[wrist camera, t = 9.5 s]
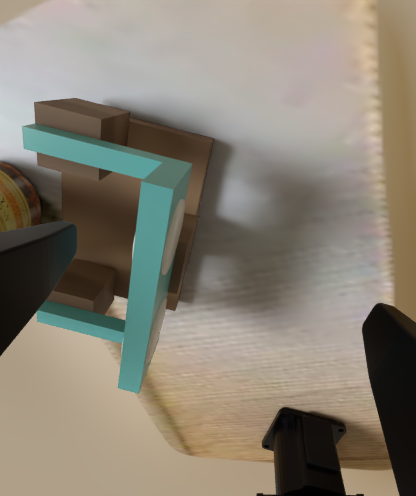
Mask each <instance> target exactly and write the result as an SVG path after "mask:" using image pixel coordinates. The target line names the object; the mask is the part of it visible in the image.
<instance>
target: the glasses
mask: <svg viewBox="0 0 416 496" xmlns="http://www.w3.org/2000/svg"><path fill="white" fill-rule="evenodd" d="M22 131H23V144H24V149H27V150H31V151H35V152H39V153H42V154H46V155H50V156H54V157H58V158H62V159H66V160H70V161H74V162H78V163H82V164H85V165H89V166H93V167H97V168H101V169H105V170H109V171H113V172H117V173H121V174H125V175H128V176H132V177H136V178H140V179H144V180H142V181H141V190H140V199H139V207H138V216H137V225H136V233H135V237H134V243H133V252H132V269H131V278H130V286H129V295H128V304H127V313H126V321H125V320H121V319H118V318H114V317H110V316H106V315H102V314H98V313H94V312H91V311H87V310H83V309H79V308H75V307H71V306H67V305H64V304H60V303H56V302H52V301H48V300H46V301H45V302H44V303H43V304H42V306H41V307H40V308H39V309H38V311H37V321H38V322H41V323H45V324H49V325H52V326H56V327H60V328H64V329H68V330H72V331H76V332H79V333H83V334H87V335H91V336H95V337H99V338H102V339H106V340H110V341H114V342H118V343H122V350H121V353H122V357H121V365H120V374H119V383H118V388H120V389H123V390H127V391H131V392H135V393H139V392H140V389H141V387H142V384H143V381H144V378H145V376H146V373H147V370H148V367H149V365H150V362H151V359H152V356H153V354H154V351H155V348H156V345H157V343H158V340H159V334H160V330H161V326H162V323H163V319H164V314H165V310H166V304H167V293H168V288H169V283H170V278H171V272H172V267H173V262H174V257H175V252H176V248H177V244H178V240H179V236H180V232H181V228H182V223H183V218H184V211H185V200H186V195H187V190H188V184H189V179H190V174H191V169H192V163H188V162H184V161H180V160H176V159H173V158H169V157H165V156H161V155H157V154H153V153H149V152H145V151H141V150H137V149H133V148H129V147H126V146H122V145H118V144H114V143H110V142H106V141H102V140H98V139H94V138H90V137H86V136H82V135H79V134H75V133H71V132H67V131H63V130H59V129H55V128H51V127H47V126H43V125H39V124H31V125H26V126H22Z"/></svg>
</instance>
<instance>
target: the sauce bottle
mask: <svg viewBox="0 0 416 496" xmlns="http://www.w3.org/2000/svg"><path fill="white" fill-rule="evenodd" d="M40 222H41V204H40V198H39V197H38V196H37V192H36V190H35V189H34V188H33V186H32V185H31V183H30V182H29V181H28V180H27V179H26V178H25V177H24V176H23V175H22V174H21V173H19V172H18V170H17V169H15V168H14V167H12V166H10V165H8V164H6V163H2V162H0V232H4V231H9V230H14V229H19V228H25V227H30V226H35V225H39V224H40Z"/></svg>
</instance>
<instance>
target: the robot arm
mask: <svg viewBox="0 0 416 496" xmlns="http://www.w3.org/2000/svg"><path fill="white" fill-rule="evenodd" d="M76 251H77V227H76V225H75V224H73V223H70V222H66V221H56V222H51V223H46V224H41V225H35V226H30V227H25V228H19V229H14V230H9V231H4V232H0V356H1V355H2V353H3V352H4V351H5V350H6V349H7V347H8V346H9V345H10V344H11V342H12V341H13V340H14V339H15V338H16V336H17V335H18V334H19V333H20V331H21V330H22V329H23V328H24V326H25V325H26V324H27V323H28V322H29V320H30V319H31V318H32V317H33V315H34V314H35V313H36V312H37V311H38V309H39V308H40V307H41V306H42V304H43V303H44V302H45V301H46V299H47V298H48V297H49V295H50V294H51V293H52V291H53V290H54V288H55V287H56V285H57V283H58V282H59V280H60V279H61V277H62V275H63V274H64V272H65V271H66V269H67V268H68V266H69V264H70V263H71V261H72V260H73V258H74V256H75V254H76ZM362 334H363V341H364V348H365V354H366V361H367V368H368V374H369V379H370V384H371V388H372V392H373V396H374V399H375V403H376V407H377V411H378V415H379V419H380V422H381V426H382V430H383V434H384V438H385V442H386V445H387V449H388V453H389V457H390V461H391V465H392V468H393V472H394V476H395V480H396V484H397V488H398V491H399V495H400V496H416V323H415V322H414V321H413V320H411V319H410V318H409V317H407V316H406V315H405V314H403V313H402V312H401V311H399V310H398V309H396V308H395V307H394V306H391V305H387V304H383V303H378V304H376V305H375V306H374V307H373V309H372V311H371V312H370V314H369V315H368V317H367V318H366V320H365V322H364V323H363V327H362ZM345 432H346V427H345V425H344V424H343V423H339V422H335V421H331V420H328V419H324V418H320V417H316V416H312V415H308V414H305V413H301V412H297V411H293V410H289V409H285V408H283V409H280V410H279V412H278V413H277V415H276V417H275V419H274V421H273V422H272V424H271V426H270V428H269V430H268V431H267V433H266V435H265V437H264V439H263V440H262V447H263V448H264V449H267V450H271V451H274V465H275V466H274V467H275V484H276V495H263V493H257V496H364V494H356V495H346V492H345V488H344V484H343V479H342V475H341V471H340V470H341V467H340V463H339V458H338V454H337V449H336V444H337V443H338V441H339V440H340V439H341V437H342V436H343V435H344V434H345Z"/></svg>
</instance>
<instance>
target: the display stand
mask: <svg viewBox="0 0 416 496" xmlns="http://www.w3.org/2000/svg"><path fill="white" fill-rule="evenodd" d="M34 108H35V124H39V125H43V126H47V127H51V128H55V129H59V130H63V131H67V132H71V133H75V134H79V135H82V136H86V137H90V138H94V139H98V140H102V141H106V142H110V143H114V144H118V145H122V146H126V147H129V148H133V149H137V150H141V151H145V152H149V153H153V154H157V155H161V156H165V157H169V158H173V159H176V160H180V161H184V162H188V163H192V169H191V174H190V179H189V184H188V190H187V195H186V200H185V211H184V218H183V223H182V228H181V232H180V236H179V240H178V244H177V248H176V252H175V257H174V262H173V267H172V272H171V278H170V283H169V288H168V293H167V304H166V309H170V310H173V311H175V309H176V306H177V303H178V300H179V296H180V291H181V286H182V282H183V277H184V273H185V270H186V268H187V265H188V262H189V258H190V253H191V249H192V244H193V240H194V235H195V231H196V226H197V222H198V217H199V216H197V214H198V209H199V205H200V200H201V196H202V191H203V186H204V182H205V177H206V173H207V168H208V164H209V159H210V155H211V150H212V145H213V141H214V139H213V138H209V137H205V136H201V135H197V134H193V133H190V132H186V131H182V130H178V129H174V128H170V127H166V126H162V125H158V124H154V123H150V122H146V121H143V120H139V119H135V118H131V117H130V112H128V111H124V110H121V109H117V108H113V107H109V106H105V105H101V104H97V103H93V102H89V101H85V100H81V99H77V98H71V99H61V100H51V101H41V102H34ZM37 161H38V166H41V167H45V168H49V169H53V170H57V171H60V172H62V220H63V221H66V222H70V223H73V224H75V225H76V227H77V251H76V254H75V256H74V258H73V260H72V261H71V263H70V264H69V266H68V268H67V269H66V271H65V272H64V274H63V275H62V277H61V279H60V280H59V282H58V283H57V285H56V287H55V288H54V290H53V291H52V293H51V294H50V295H49V297H48V298H47V299H46V300H48V301H52V302H56V303H60V304H64V305H67V306H71V307H75V308H79V309H83V310H87V311H91V312H94V313H98V314H102V315H105V313H106V312H107V310H108V309H109V307H110V305H111V304H112V302H113V301H114V295H116V296H119V297H123V298H127V299H128V295H129V286H130V278H131V269H132V252H133V243H134V237H135V233H136V225H137V216H138V207H139V199H140V190H141V181H142V180H144V179H140V178H136V177H132V176H128V175H125V174H121V173H117V172H113V171H109V170H105V169H101V168H97V167H93V166H89V165H85V164H82V163H78V162H74V161H70V160H66V159H62V158H58V157H54V156H50V155H46V154H42V153H39V152H37Z"/></svg>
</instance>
